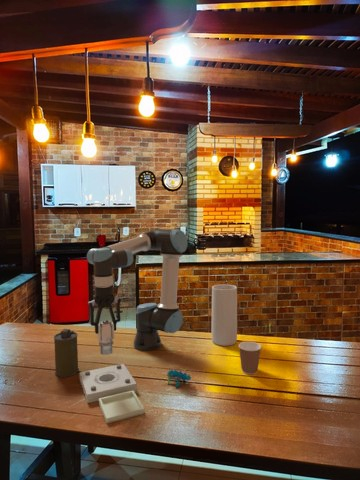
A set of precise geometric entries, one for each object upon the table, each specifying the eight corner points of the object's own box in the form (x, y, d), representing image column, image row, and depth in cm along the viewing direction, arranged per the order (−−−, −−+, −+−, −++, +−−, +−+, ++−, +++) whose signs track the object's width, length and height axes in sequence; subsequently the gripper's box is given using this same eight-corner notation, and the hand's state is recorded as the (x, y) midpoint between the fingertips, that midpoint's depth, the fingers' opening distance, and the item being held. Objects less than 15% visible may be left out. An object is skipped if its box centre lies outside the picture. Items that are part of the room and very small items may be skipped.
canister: (71, 378, 153) (69, 334, 151) (50, 375, 155) (48, 333, 153) (83, 367, 164) (81, 326, 162) (63, 365, 166) (61, 325, 164)
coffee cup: (262, 368, 161) (263, 343, 160) (258, 377, 152) (258, 351, 151) (241, 364, 165) (241, 340, 164) (235, 373, 156) (235, 348, 155)
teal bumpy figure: (195, 378, 148) (185, 369, 142) (192, 392, 145) (181, 383, 138) (173, 376, 154) (163, 367, 147) (169, 389, 150) (159, 380, 144)
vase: (238, 346, 186) (239, 289, 184) (212, 346, 187) (212, 290, 184) (234, 336, 201) (235, 284, 198) (210, 336, 201) (210, 284, 198)
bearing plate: (123, 370, 159) (123, 362, 159) (136, 391, 141) (136, 381, 141) (79, 380, 151) (79, 370, 151) (87, 403, 133) (87, 392, 132)
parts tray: (133, 395, 139) (133, 390, 138) (144, 413, 126) (144, 408, 126) (98, 403, 133) (98, 398, 133) (106, 423, 120) (106, 418, 120)
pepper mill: (111, 348, 149) (110, 317, 148) (115, 353, 144) (114, 322, 142) (98, 351, 147) (96, 319, 145) (100, 356, 141) (99, 324, 140)
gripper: (122, 281, 149) (124, 332, 152) (80, 286, 142) (82, 340, 144) (127, 284, 142) (129, 338, 145) (83, 289, 135) (85, 346, 137)
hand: (106, 339), depth 144 cm, fingers closed on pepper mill, 5 cm apart
